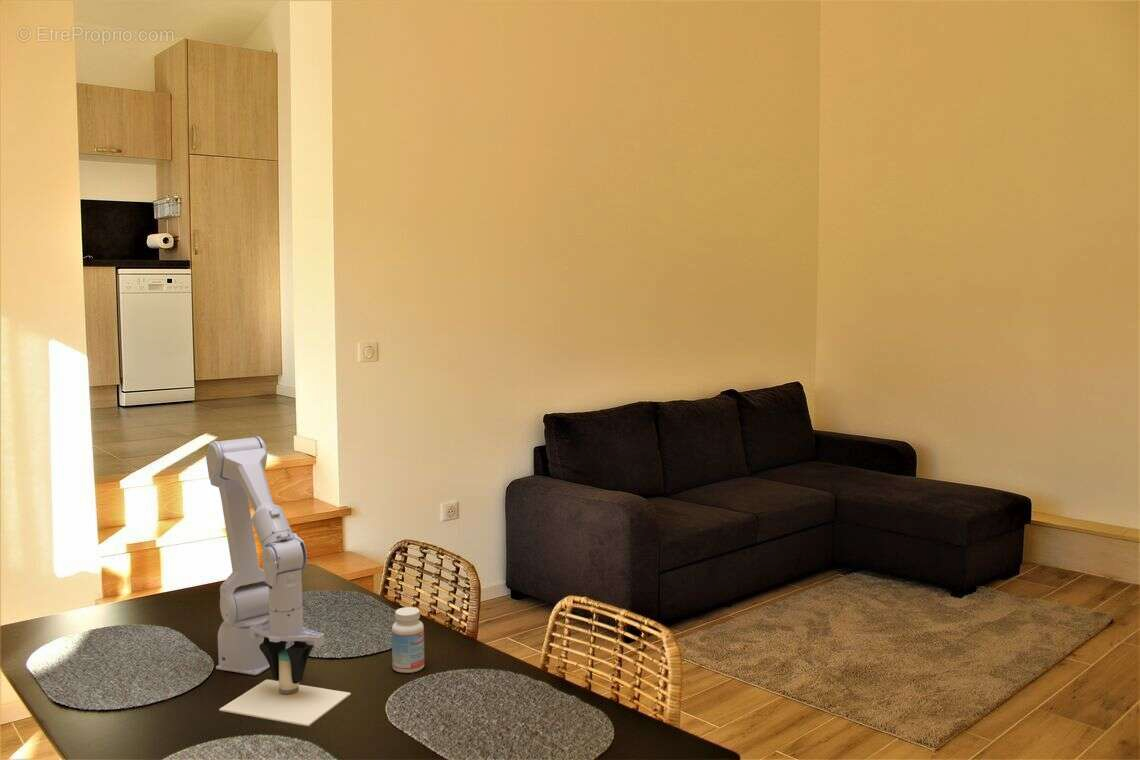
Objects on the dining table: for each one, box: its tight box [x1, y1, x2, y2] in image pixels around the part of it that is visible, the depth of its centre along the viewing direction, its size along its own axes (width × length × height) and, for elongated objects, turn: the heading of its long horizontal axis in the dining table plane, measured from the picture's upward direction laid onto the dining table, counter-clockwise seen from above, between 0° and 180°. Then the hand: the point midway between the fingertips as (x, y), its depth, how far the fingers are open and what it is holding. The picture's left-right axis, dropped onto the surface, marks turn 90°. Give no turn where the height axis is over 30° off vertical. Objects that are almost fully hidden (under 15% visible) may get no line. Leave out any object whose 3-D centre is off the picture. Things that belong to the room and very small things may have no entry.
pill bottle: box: [391, 606, 425, 674], centre depth 181 cm, size 6×6×11 cm
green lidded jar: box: [278, 648, 300, 695], centre depth 171 cm, size 4×4×7 cm
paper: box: [218, 679, 352, 727], centre depth 167 cm, size 18×13×1 cm
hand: (288, 679), depth 171 cm, fingers closed on green lidded jar, 3 cm apart
